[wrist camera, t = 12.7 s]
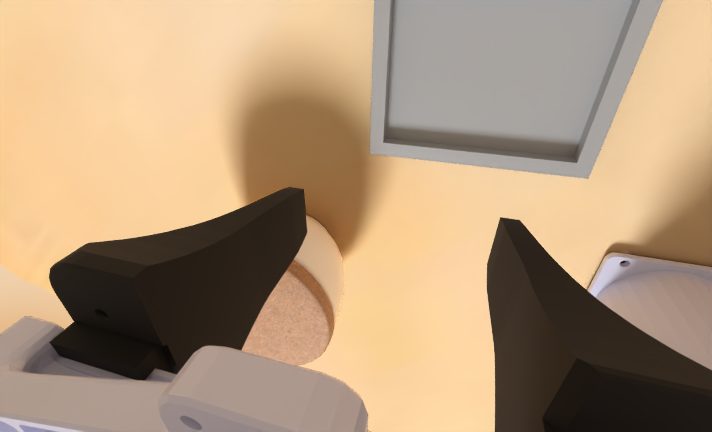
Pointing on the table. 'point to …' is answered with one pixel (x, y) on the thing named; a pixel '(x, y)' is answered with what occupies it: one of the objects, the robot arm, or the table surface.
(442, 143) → the tray
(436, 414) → the table surface
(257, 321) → the lidded jar
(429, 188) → the table surface
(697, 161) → the table surface
